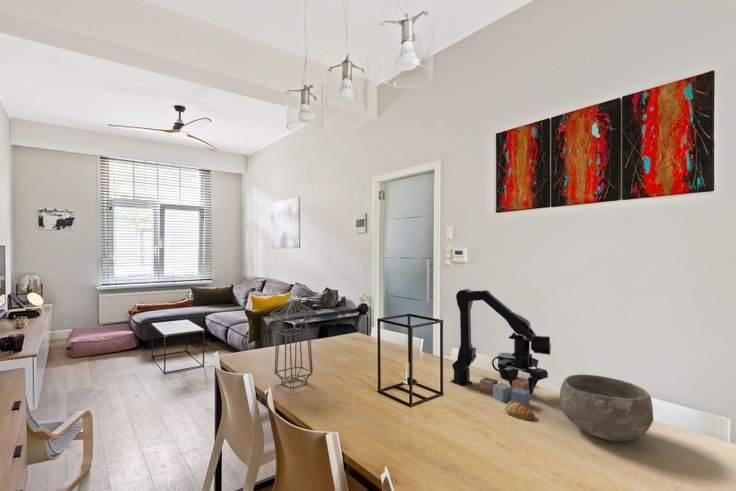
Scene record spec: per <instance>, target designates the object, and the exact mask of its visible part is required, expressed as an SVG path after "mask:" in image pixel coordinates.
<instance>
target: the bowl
mask: <svg viewBox="0 0 736 491" xmlns="http://www.w3.org/2000/svg"><path fill="white" fill-rule="evenodd" d="M559 399H560V406H561V409H562V412H563V414H564V415H565V416H566V418H567V419H568V420H569V421H570V422H571V423H572V424H573V425H574V426H576V427H578V429H580V430H582V431H584V432H585V433H587V434H589V435H592V436H594V437H596V438H600V439H603V440H607V441H612V442H631V441H633V440H636V439H640V440H641V439H643V438H644V437H645V434H646V433H647V431H648V430H649V429H650V428H651V426H652V424H653V421H654V408H653V402H652V397H651V395H650V393H649V392H648V391H647V390H646V389H644V388H642V387H640V386H638V385H636V384H634V383H631V382H628V381H625V380H620V379H617V378H613V377H607V376H603V375H602V376H601V375H593V374H573V375H569V376H567V377H566V378H565V379H564V380H563V382H562V384H561V387H560V392H559Z"/></svg>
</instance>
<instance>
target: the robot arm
mask: <svg viewBox="0 0 736 491" xmlns="http://www.w3.org/2000/svg"><path fill="white" fill-rule="evenodd" d="M455 298H456V305H457V307H458V309H459V310H458V311H459V318H460V319H459V322H460V325H459V327H460V328H459V329H460V330H459V332H460V333H459V334H460V346H459V348H458V349H459V350H458V352H457V359H456V360H455V361H454V362H453V363H452V369H453V379H451V380H450V382H452V383H454V384H457V385H460V386H465V385H469V384H473V381H471V379H470V375H471V374H470V373H471V371H470V366H471V364H472V363H474V362H475V360H476V358H477V354H476V353H477V348H476V347H473V345H472V325H471V324H472V322H471V319H472V318H471V311H472V310H471V309H472V306H473V302H474V301H475V302H476V301H483V302H484V303H486V304H487V305H488V306H489V307H490V308H491V309H492V310H494V312H496V313H497V314H499V315H500V316H501V317H502V318H503V319H504V320H505V321H506V322H507V324H508V326H509V327H510V328H511V329H512V331H514V332H513V333H512V334H511V335H510V336H508V339H509V340H513V344H514V345H513V352H511V353H512V356H514V362H513V361H511V360H508V359H504V360H500V361H499V362H498V361H497V369H499V368H501V370H502V371H503V372H504V374H505V375H506V377H507V379H508V380H507V381H508V384H509V386H511V387H512V381H513V380H514V372H515V370H519V371H518V372H524V373H526V374H529V377H528V378H527V381H528V382H529V391H530V394H531V395H532V394H533V393H534V391H535V389H536V386H537V384H538V382H539V380H540V381H541V380H544V379H547V378H549V372H548V371H547V370H546V369H543V368H541V367H538V365H539V359H537V358H534V357H533V354H532V353H530V352H531V351H532V352H533V353H534V354H540V355H548V356H551V352H552V351H551V350H552V345H551V337H550V336H548V335H547V336H546V335H545V336H541V335H537V334H536V332H534V330H533V329H532V328H531V322H530V321H529V319H527V318H525V317H524V316H522V315H520V314H518V313H516V312H513V311H512V310H511V309H510V308H509V307H508V306H506V305H505V304H504V303H503V302H502V301H500V300H499V299H498V298H496V297H495V295H493V294H492V293H491V292H490V291H489V290H487V289H484V290H471V289H469V288H466V289H464V288H463V289H461V290H459V291H457V293H456V295H455Z"/></svg>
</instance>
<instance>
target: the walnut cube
mask: <svg viewBox="0 0 736 491" xmlns="http://www.w3.org/2000/svg"><path fill="white" fill-rule="evenodd" d="M498 381H499V380H497V379H494V378H490V377H484V378H482V379H480V380H479V393H480V394H483V395H486V396H490V397H493V385H494V384H499V382H498Z"/></svg>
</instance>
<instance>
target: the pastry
mask: <svg viewBox="0 0 736 491" xmlns="http://www.w3.org/2000/svg"><path fill="white" fill-rule="evenodd" d="M504 410H505V411H506V413H507V415H511V416H512V417H515V418H517V419H521V420H528V421H530V420H531V421H532V420H533V419H534V418H535V416H536V414H535V412H533V411H532V409H531V408H529V406H527V407H526V406H525V405H524V404H521V403H519V402H517V403H516V402H515V401H507V403H506V405H505V409H504Z"/></svg>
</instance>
